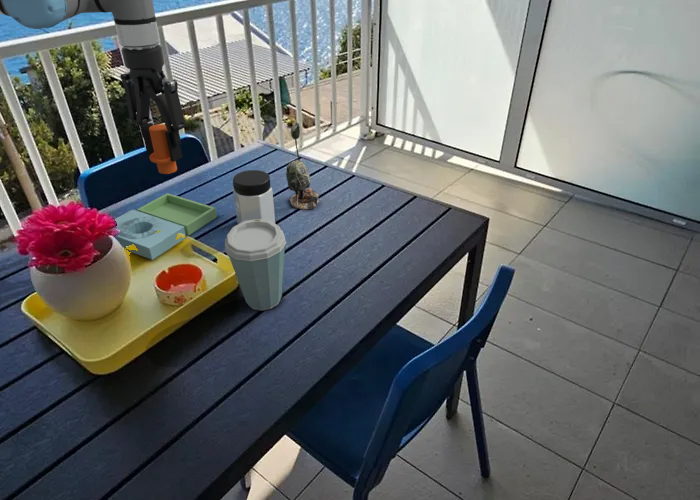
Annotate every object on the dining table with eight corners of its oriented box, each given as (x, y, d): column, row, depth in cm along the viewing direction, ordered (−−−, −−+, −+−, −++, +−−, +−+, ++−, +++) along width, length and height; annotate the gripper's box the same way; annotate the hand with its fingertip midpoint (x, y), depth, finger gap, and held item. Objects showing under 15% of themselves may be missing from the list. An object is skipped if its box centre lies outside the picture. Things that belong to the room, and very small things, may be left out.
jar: (233, 219, 119) (227, 173, 112) (266, 211, 122) (261, 166, 115) (245, 237, 112) (239, 189, 105) (279, 228, 115) (275, 181, 109)
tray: (139, 218, 119) (136, 209, 117) (169, 202, 126) (167, 192, 124) (188, 235, 112) (186, 225, 111) (217, 217, 120) (215, 207, 118)
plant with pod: (277, 210, 123) (271, 131, 112) (299, 190, 131) (295, 116, 120) (307, 216, 120) (303, 137, 109) (327, 196, 129) (326, 121, 118)
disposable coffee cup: (288, 318, 90) (282, 249, 81) (228, 319, 89) (216, 249, 81) (292, 282, 98) (288, 216, 90) (238, 283, 98) (228, 217, 90)
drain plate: (100, 240, 111) (96, 228, 109) (135, 220, 118) (132, 209, 116) (152, 260, 104) (149, 248, 103) (186, 237, 112) (184, 226, 110)
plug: (146, 172, 111) (136, 129, 105) (168, 162, 116) (159, 120, 110) (167, 178, 108) (158, 134, 103) (188, 167, 113) (180, 125, 107)
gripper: (192, 47, 96) (210, 158, 109) (121, 37, 104) (146, 142, 117) (162, 55, 91) (185, 171, 103) (91, 43, 98) (120, 153, 111)
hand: (164, 155), depth 110 cm, fingers closed on plug, 6 cm apart
